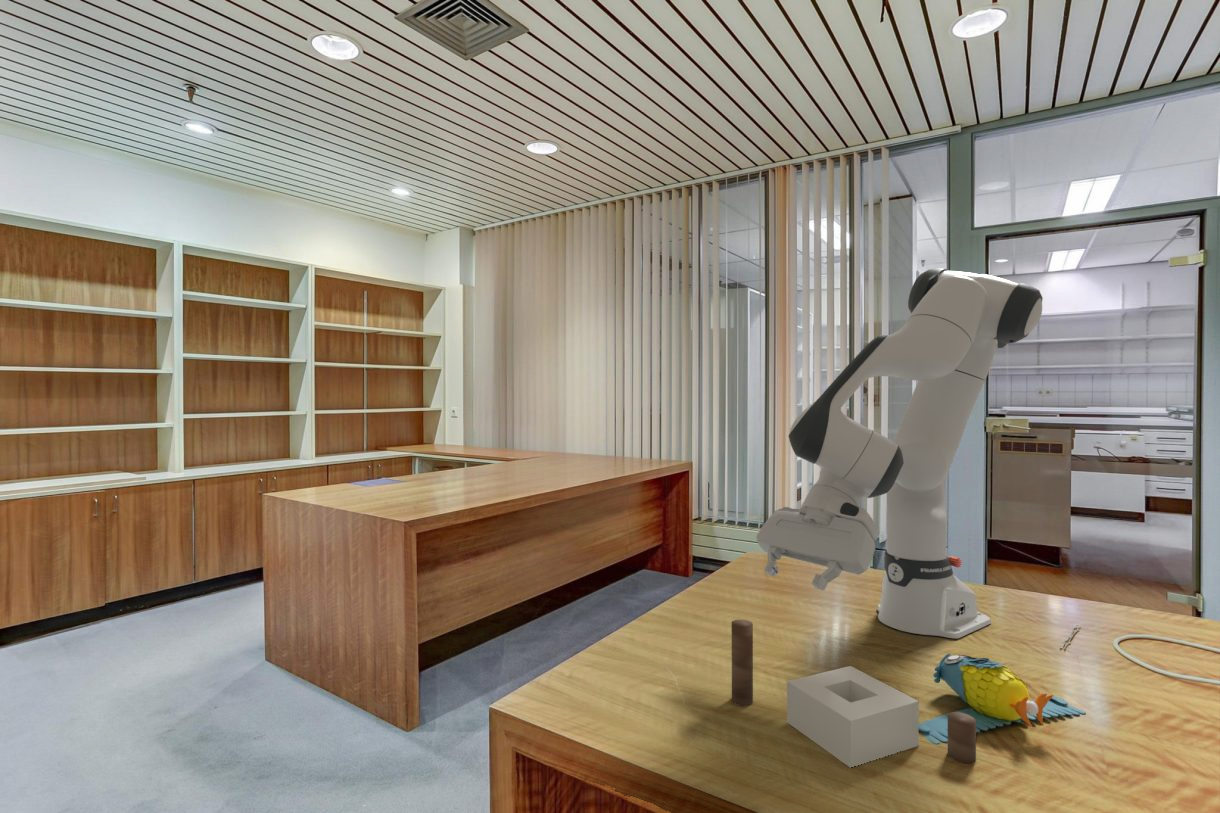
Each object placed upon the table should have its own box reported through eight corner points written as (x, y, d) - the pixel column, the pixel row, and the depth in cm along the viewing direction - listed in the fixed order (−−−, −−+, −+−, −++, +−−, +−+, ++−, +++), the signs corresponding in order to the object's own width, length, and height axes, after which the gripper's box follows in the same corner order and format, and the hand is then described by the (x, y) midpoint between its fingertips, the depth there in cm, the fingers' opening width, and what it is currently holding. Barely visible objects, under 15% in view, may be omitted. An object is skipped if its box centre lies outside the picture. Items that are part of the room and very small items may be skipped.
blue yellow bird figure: (953, 695, 80) (872, 652, 94) (955, 763, 80) (873, 709, 94) (1112, 667, 88) (1015, 631, 102) (1113, 728, 88) (1016, 683, 102)
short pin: (958, 747, 82) (958, 710, 82) (981, 760, 79) (981, 721, 79) (941, 753, 81) (942, 715, 81) (964, 766, 78) (964, 726, 78)
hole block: (850, 705, 94) (850, 665, 94) (918, 745, 83) (918, 701, 83) (787, 722, 89) (787, 681, 89) (850, 768, 78) (850, 720, 78)
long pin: (744, 694, 97) (744, 618, 97) (757, 703, 94) (757, 625, 94) (727, 698, 96) (727, 621, 96) (739, 707, 93) (739, 628, 93)
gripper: (770, 495, 115) (735, 556, 109) (874, 511, 99) (839, 584, 93) (785, 516, 118) (751, 576, 112) (889, 535, 101) (856, 607, 96)
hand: (792, 580), depth 102 cm, fingers open, 8 cm apart
